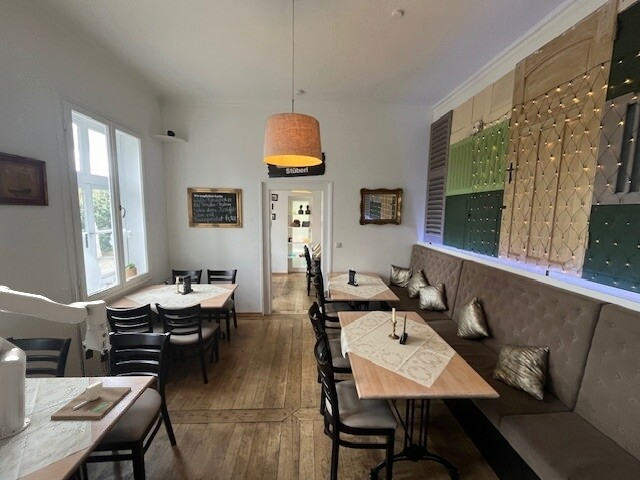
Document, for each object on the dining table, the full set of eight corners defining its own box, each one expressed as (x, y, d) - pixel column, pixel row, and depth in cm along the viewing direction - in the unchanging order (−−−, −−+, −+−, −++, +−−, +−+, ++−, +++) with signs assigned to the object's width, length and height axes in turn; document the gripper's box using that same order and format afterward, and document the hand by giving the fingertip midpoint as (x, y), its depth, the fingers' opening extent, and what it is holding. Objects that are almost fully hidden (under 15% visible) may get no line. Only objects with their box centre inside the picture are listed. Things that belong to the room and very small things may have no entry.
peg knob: (98, 394, 136) (98, 380, 135) (102, 395, 135) (103, 382, 134) (71, 408, 125) (71, 393, 124) (76, 410, 124) (76, 395, 123)
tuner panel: (100, 419, 121) (100, 415, 121) (50, 419, 120) (50, 415, 120) (131, 390, 143) (131, 387, 143) (89, 389, 142) (89, 386, 142)
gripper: (117, 325, 134) (117, 359, 135) (91, 321, 138) (91, 354, 139) (102, 331, 127) (102, 366, 127) (75, 326, 131) (75, 360, 132)
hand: (96, 359), depth 133 cm, fingers open, 9 cm apart
